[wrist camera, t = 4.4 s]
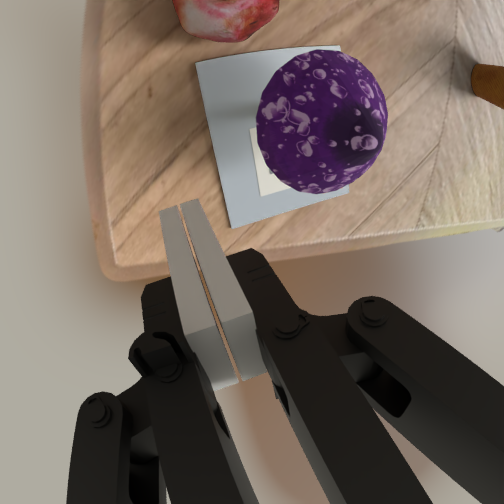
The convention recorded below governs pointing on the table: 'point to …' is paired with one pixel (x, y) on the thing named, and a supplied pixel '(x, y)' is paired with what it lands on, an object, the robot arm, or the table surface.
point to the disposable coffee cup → (489, 83)
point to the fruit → (224, 17)
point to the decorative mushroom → (321, 121)
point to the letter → (248, 134)
